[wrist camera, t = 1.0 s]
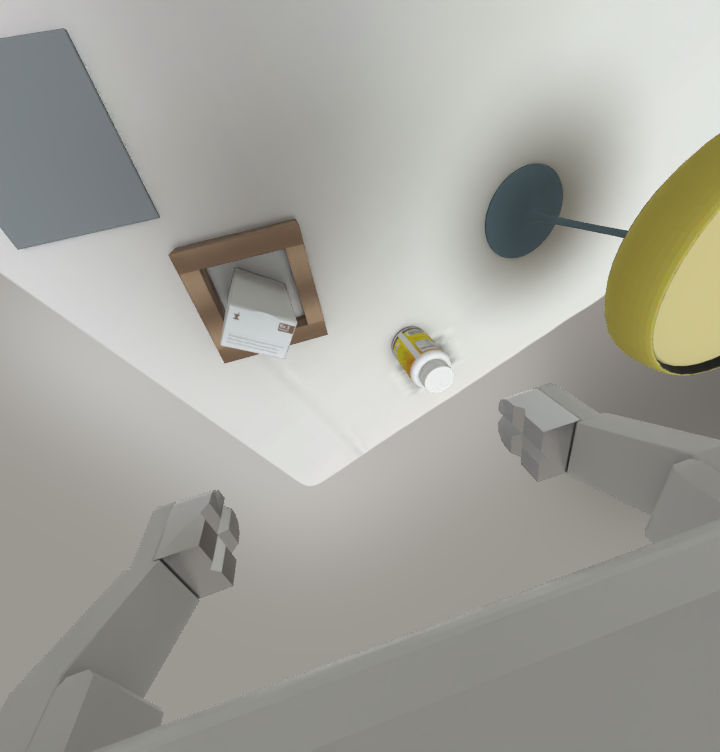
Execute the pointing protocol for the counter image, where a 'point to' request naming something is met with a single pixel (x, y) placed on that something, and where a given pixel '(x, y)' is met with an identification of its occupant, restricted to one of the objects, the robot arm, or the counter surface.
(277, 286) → the skincare box
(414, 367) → the supplement bottle
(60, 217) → the slate mat
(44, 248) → the counter surface
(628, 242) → the cocktail glass
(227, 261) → the walnut collar
